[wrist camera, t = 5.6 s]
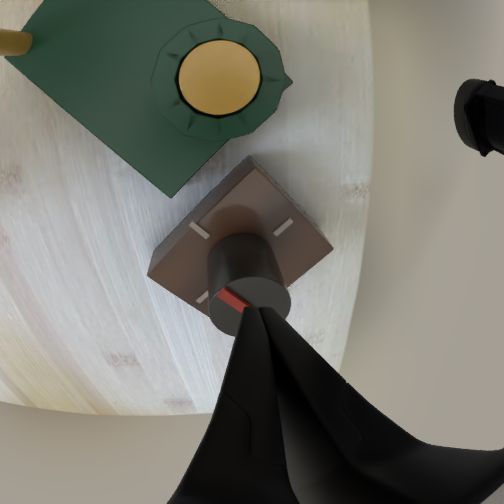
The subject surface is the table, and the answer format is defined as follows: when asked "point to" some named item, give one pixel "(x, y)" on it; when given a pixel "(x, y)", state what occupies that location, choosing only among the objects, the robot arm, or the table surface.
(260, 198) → the dimmer panel
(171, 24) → the lamp base
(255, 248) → the dimmer knob
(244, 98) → the lamp switch
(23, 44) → the lamp stem
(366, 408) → the robot arm
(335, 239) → the table surface
